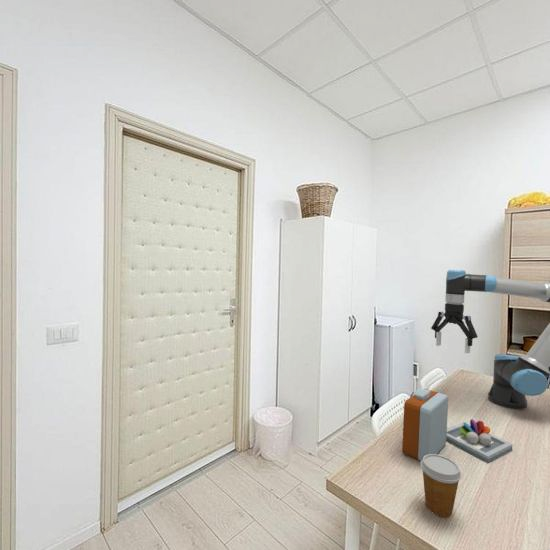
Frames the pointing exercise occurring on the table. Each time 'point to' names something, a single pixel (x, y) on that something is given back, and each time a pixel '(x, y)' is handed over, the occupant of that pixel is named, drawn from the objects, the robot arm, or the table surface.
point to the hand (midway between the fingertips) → (452, 349)
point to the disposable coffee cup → (440, 483)
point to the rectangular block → (424, 423)
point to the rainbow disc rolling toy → (476, 432)
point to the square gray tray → (478, 445)
